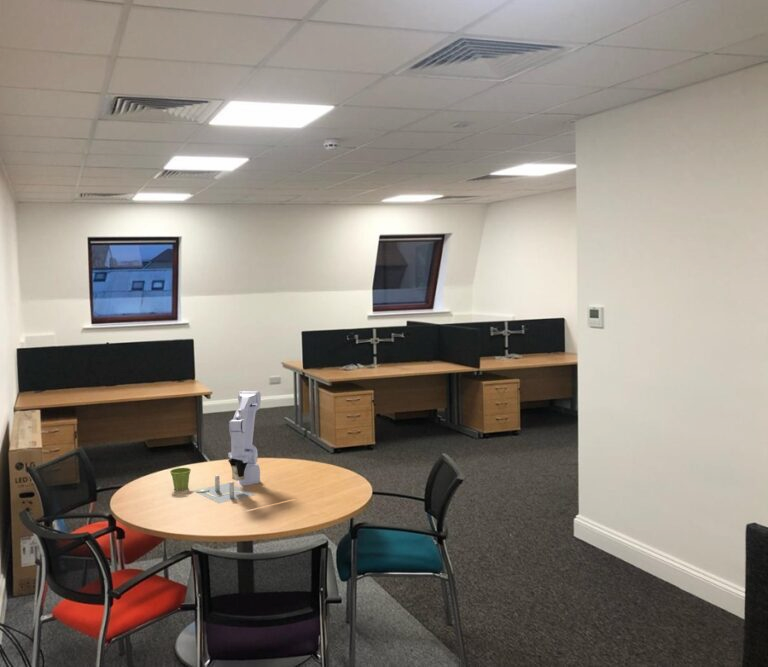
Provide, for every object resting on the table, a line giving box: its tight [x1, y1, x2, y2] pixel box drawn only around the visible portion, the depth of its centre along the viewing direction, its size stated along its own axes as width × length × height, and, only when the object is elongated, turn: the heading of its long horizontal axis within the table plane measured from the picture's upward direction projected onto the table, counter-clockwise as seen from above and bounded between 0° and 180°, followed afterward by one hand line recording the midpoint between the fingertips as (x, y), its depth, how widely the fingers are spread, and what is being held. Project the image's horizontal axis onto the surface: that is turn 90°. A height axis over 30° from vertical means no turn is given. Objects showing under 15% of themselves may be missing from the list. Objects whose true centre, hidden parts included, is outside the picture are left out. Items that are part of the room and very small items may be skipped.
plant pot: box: [169, 467, 192, 491], centre depth 336 cm, size 9×9×9 cm
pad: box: [195, 487, 210, 494], centre depth 330 cm, size 6×6×1 cm
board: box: [193, 474, 256, 504], centre depth 327 cm, size 18×24×8 cm
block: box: [231, 465, 245, 482], centre depth 328 cm, size 4×4×6 cm
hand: (238, 475), depth 328 cm, fingers closed on block, 4 cm apart
